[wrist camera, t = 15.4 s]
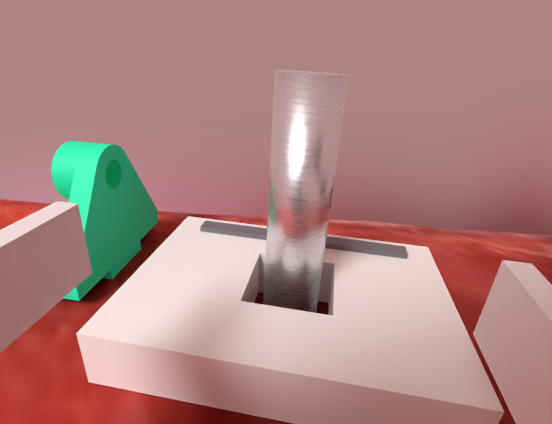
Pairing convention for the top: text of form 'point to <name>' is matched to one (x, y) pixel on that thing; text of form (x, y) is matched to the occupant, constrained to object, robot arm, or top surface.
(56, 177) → the camera mount
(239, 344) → the hole plate
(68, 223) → the robot arm
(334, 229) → the top surface
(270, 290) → the long pin
